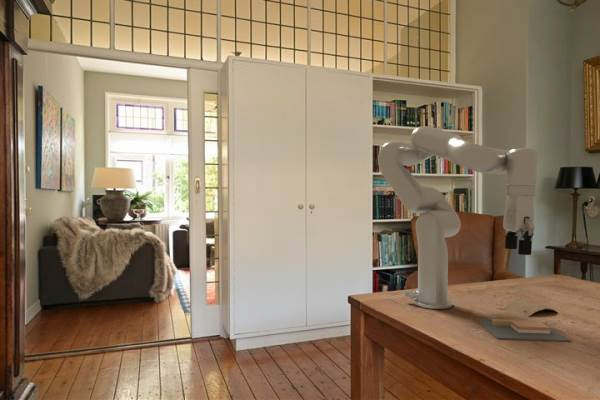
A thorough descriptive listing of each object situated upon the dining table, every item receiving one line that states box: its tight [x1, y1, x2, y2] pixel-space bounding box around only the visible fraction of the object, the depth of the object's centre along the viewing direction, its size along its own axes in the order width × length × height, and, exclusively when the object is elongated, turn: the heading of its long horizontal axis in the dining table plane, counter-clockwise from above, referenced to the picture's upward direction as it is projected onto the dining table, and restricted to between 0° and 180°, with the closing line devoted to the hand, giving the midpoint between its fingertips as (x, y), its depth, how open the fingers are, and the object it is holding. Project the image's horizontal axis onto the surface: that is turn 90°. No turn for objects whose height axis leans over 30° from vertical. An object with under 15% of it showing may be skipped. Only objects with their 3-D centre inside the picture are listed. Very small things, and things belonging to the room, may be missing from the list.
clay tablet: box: [503, 299, 557, 317], centre depth 131 cm, size 14×10×3 cm
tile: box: [511, 321, 551, 334], centre depth 111 cm, size 8×2×5 cm
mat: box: [475, 318, 572, 343], centre depth 112 cm, size 18×16×2 cm
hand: (517, 251), depth 117 cm, fingers open, 9 cm apart
